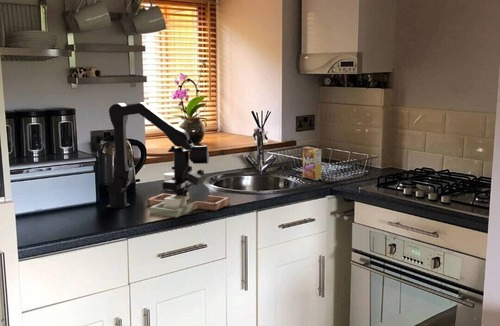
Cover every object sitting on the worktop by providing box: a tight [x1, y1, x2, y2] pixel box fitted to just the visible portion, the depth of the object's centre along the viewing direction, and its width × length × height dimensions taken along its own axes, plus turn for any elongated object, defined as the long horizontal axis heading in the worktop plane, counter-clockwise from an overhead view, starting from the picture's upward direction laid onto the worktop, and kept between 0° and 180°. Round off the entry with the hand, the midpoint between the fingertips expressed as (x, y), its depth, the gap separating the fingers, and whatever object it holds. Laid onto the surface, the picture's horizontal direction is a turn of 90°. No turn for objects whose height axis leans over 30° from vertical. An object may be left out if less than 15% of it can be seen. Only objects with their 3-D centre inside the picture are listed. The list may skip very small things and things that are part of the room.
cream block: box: [163, 194, 188, 210], centre depth 212 cm, size 6×6×5 cm
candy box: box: [302, 146, 322, 179], centre depth 264 cm, size 9×4×15 cm, turn 36°
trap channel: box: [146, 192, 230, 218], centre depth 216 cm, size 26×28×2 cm
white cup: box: [163, 171, 175, 192], centre depth 247 cm, size 7×7×7 cm
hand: (182, 203), depth 217 cm, fingers closed
